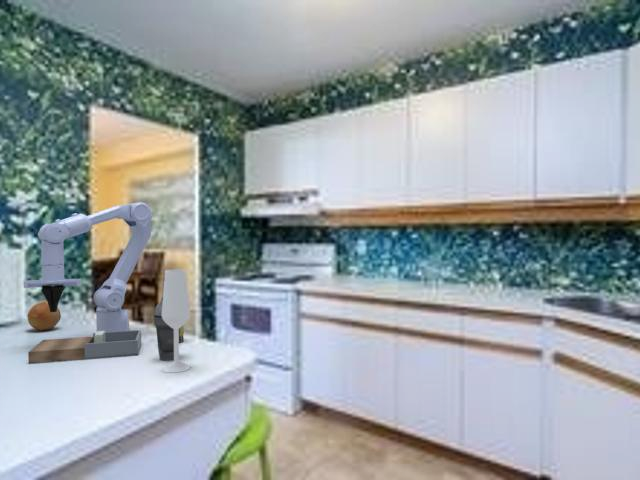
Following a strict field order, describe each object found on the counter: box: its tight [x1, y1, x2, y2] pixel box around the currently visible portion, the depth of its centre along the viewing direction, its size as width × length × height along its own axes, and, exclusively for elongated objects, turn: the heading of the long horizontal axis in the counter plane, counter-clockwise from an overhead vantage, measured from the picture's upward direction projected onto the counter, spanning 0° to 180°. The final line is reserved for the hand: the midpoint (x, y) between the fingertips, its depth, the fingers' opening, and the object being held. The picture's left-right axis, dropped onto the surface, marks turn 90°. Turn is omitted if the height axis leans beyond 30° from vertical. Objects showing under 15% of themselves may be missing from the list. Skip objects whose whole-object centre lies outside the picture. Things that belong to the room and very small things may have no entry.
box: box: [84, 329, 142, 360], centre depth 132 cm, size 13×14×4 cm
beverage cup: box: [153, 282, 180, 362], centre depth 124 cm, size 7×7×20 cm
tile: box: [94, 330, 106, 343], centre depth 130 cm, size 5×5×2 cm
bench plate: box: [27, 336, 93, 365], centre depth 128 cm, size 13×14×3 cm
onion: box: [26, 300, 62, 332], centre depth 160 cm, size 10×10×10 cm
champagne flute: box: [161, 269, 191, 373], centre depth 115 cm, size 7×7×24 cm
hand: (53, 311), depth 136 cm, fingers closed
